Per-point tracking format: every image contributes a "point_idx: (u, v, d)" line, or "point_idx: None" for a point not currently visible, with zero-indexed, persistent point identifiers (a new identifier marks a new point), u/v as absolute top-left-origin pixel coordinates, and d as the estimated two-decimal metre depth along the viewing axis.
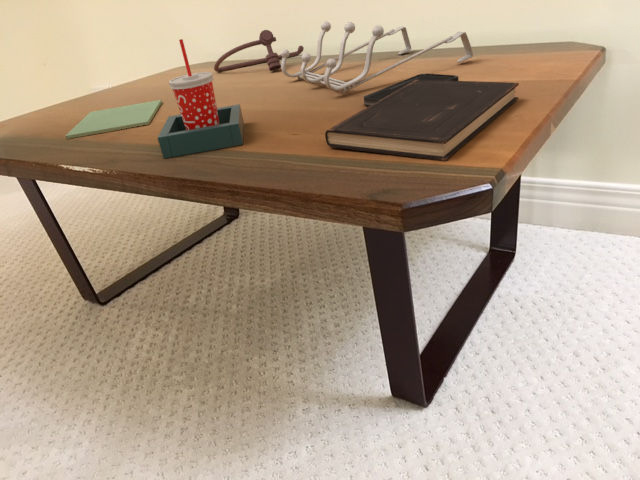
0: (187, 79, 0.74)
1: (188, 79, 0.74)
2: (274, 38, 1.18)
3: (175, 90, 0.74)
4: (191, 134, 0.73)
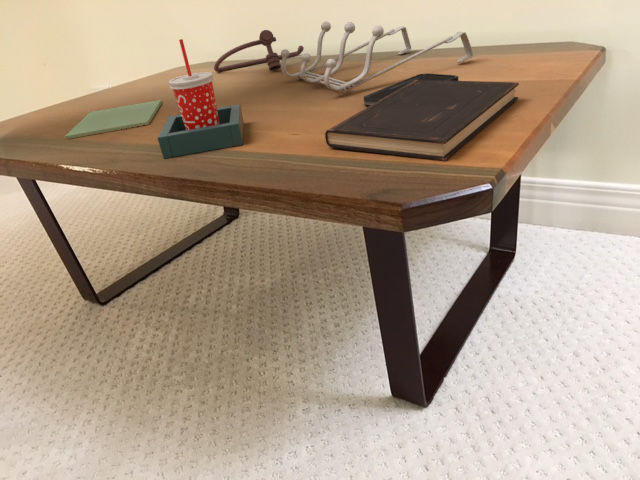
0: (187, 79, 0.74)
1: (188, 79, 0.74)
2: (274, 38, 1.18)
3: (175, 90, 0.74)
4: (191, 134, 0.73)
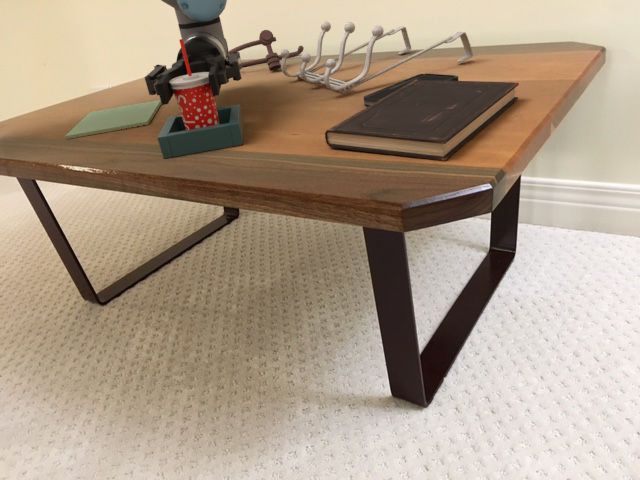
0: (187, 79, 0.74)
1: (188, 79, 0.74)
2: (274, 38, 1.18)
3: (175, 90, 0.74)
4: (191, 134, 0.73)
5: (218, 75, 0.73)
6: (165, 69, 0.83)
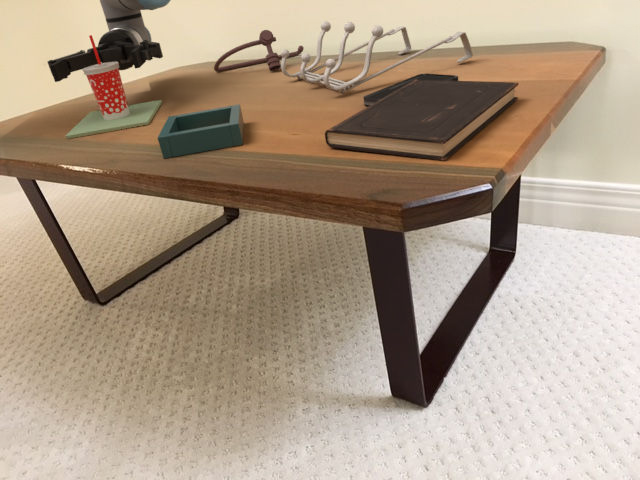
0: (97, 67, 0.93)
1: (97, 67, 0.93)
2: (274, 38, 1.18)
3: (87, 75, 0.93)
4: (191, 134, 0.73)
5: (141, 53, 0.94)
6: None
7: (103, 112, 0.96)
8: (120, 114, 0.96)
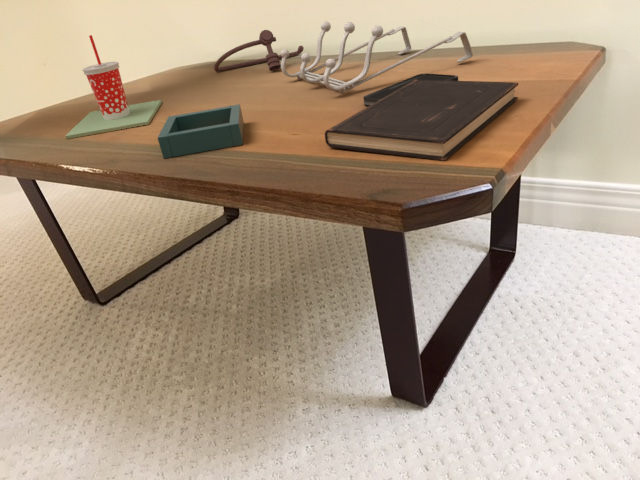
0: (97, 67, 0.93)
1: (97, 67, 0.93)
2: (274, 38, 1.18)
3: (87, 75, 0.93)
4: (191, 134, 0.73)
5: None
6: None
7: (103, 112, 0.96)
8: (120, 114, 0.96)
